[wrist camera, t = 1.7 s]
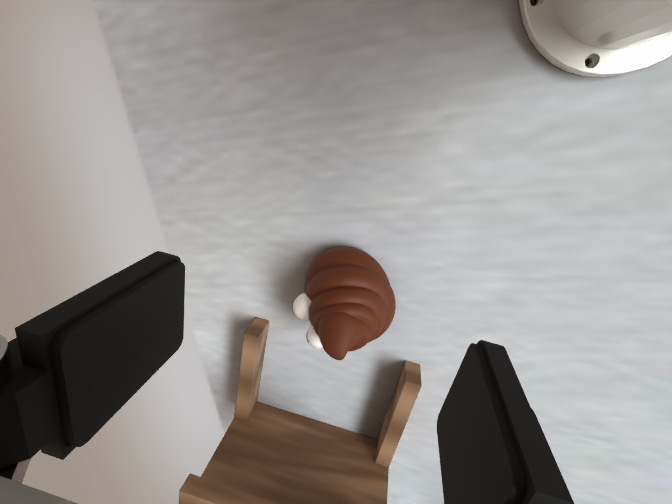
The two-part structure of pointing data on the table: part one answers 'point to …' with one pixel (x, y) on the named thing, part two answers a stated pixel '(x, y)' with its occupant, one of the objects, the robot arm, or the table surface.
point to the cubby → (297, 448)
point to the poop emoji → (345, 301)
